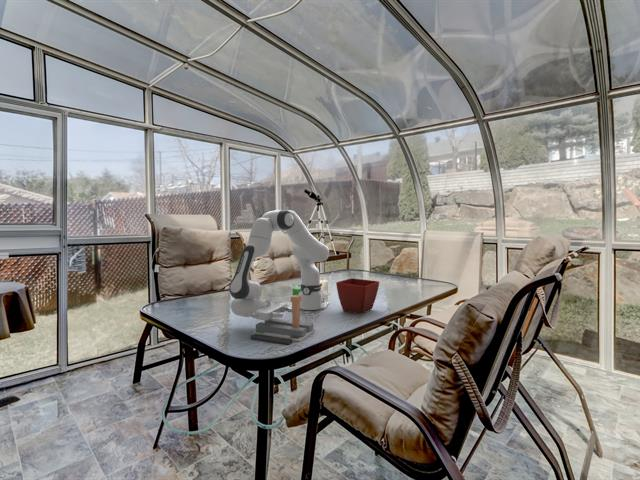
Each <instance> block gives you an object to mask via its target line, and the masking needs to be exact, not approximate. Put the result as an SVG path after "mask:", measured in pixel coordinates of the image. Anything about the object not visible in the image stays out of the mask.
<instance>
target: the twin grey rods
mask: <svg viewBox="0 0 640 480" xmlns="http://www.w3.org/2000/svg"><path fill="white" fill-rule="evenodd" d="M250 339H251V340H255V341H256V340H257V341H264V342H268V343H269V342H271V343H276V344H282V345H290V344H292V343H293V341H294V340H292V339H288V338H281V337H275V336H268V335H261V334H251V335H250Z"/></svg>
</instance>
